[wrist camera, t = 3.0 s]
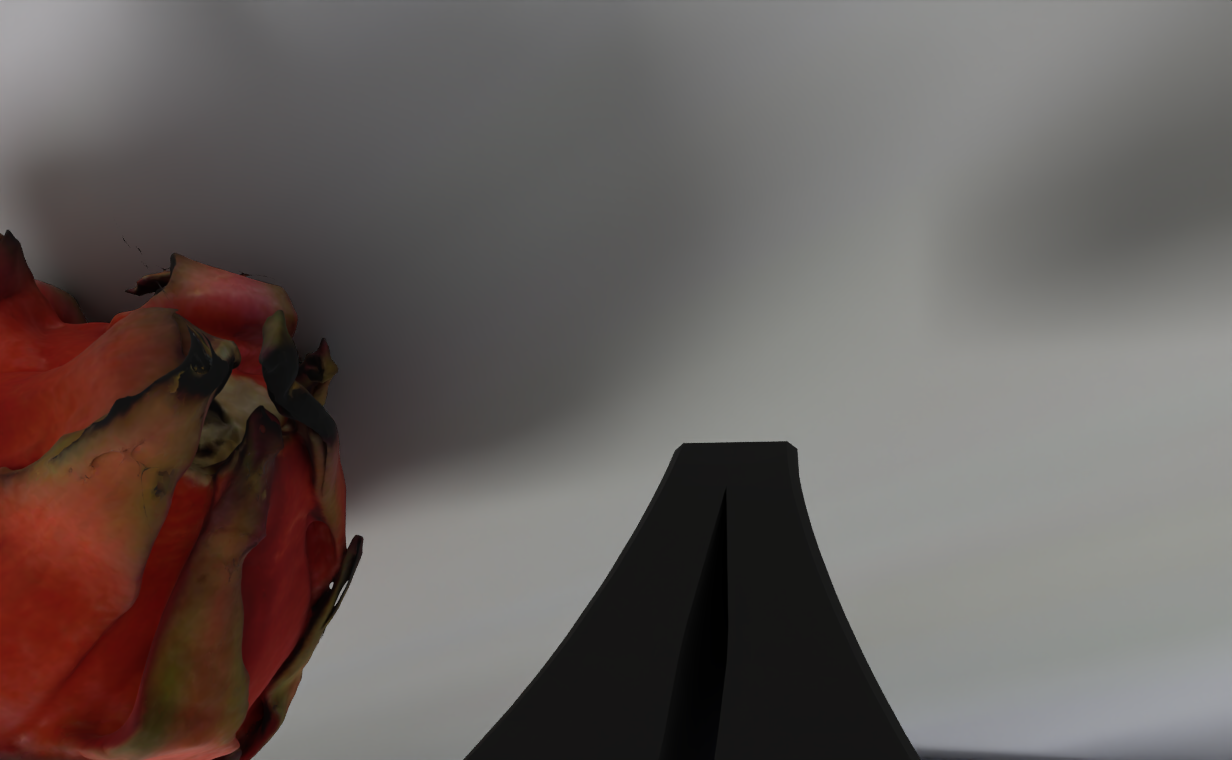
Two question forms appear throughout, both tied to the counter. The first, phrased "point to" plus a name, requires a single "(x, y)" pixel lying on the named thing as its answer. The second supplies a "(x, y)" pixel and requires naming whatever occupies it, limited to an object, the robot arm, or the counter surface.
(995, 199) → the counter surface
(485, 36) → the counter surface
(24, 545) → the dragon fruit
